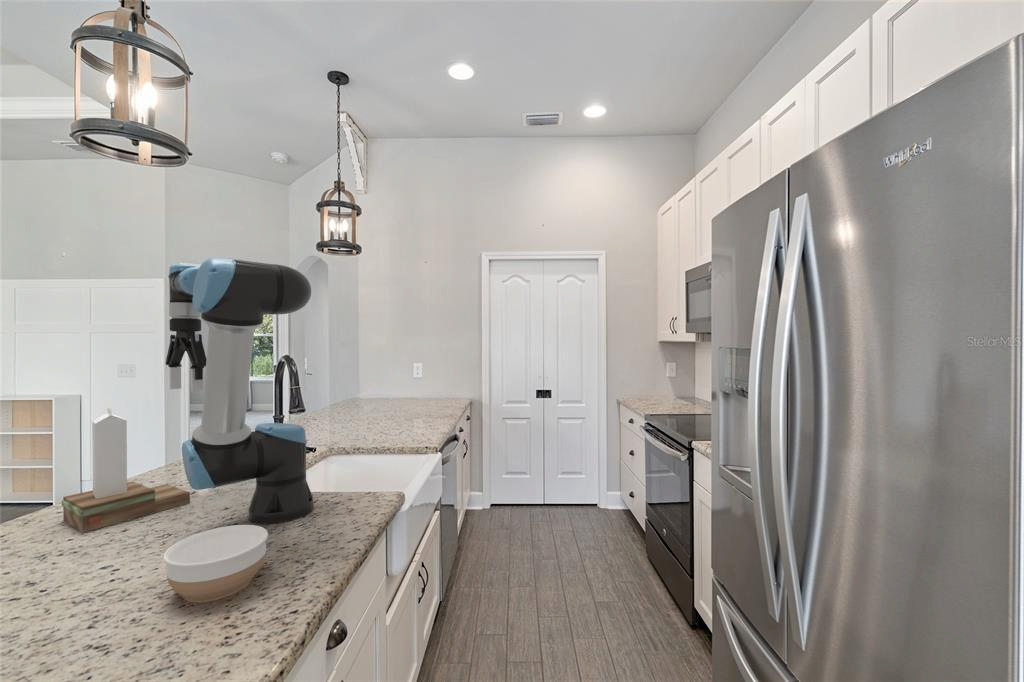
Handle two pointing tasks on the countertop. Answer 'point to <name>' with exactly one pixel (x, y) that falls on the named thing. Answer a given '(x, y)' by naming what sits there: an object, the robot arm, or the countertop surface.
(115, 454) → the milk
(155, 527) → the countertop surface
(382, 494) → the countertop surface
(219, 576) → the bowl
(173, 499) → the stand
